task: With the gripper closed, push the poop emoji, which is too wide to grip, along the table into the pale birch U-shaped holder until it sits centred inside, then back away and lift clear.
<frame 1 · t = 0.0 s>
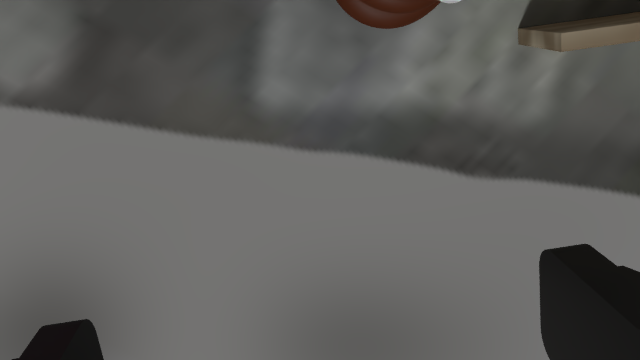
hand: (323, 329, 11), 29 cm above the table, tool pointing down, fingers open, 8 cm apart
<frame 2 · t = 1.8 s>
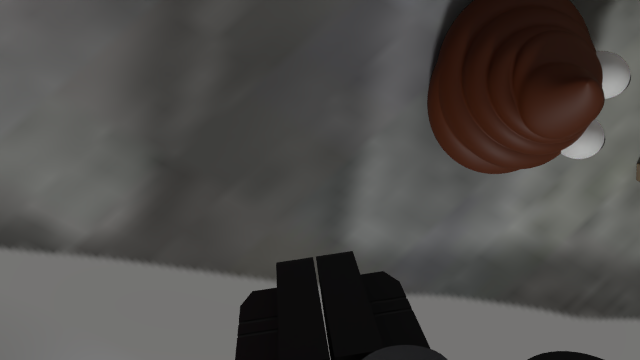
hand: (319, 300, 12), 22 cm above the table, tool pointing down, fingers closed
poop emoji: (500, 79, 33), on the table
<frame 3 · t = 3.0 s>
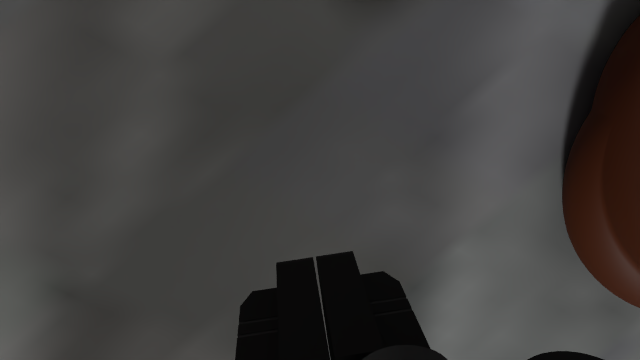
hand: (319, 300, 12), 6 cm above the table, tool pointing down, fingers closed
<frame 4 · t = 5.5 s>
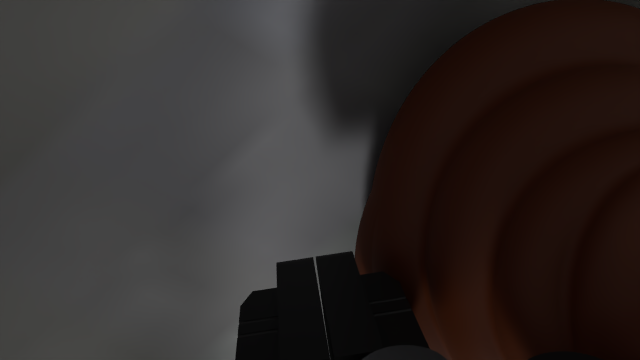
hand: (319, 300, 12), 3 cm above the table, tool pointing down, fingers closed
poop emoji: (520, 206, 15), on the table, touching gripper
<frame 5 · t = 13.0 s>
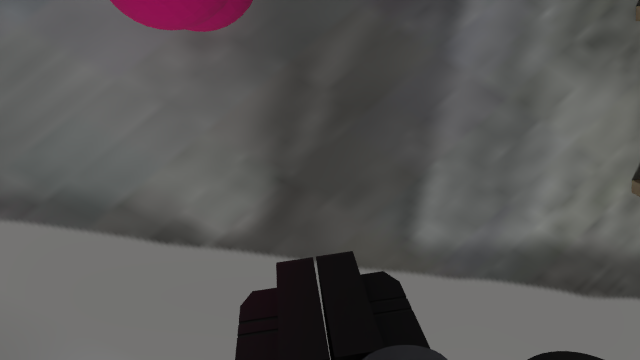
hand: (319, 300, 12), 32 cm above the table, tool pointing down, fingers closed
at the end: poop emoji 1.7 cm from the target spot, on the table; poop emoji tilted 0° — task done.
